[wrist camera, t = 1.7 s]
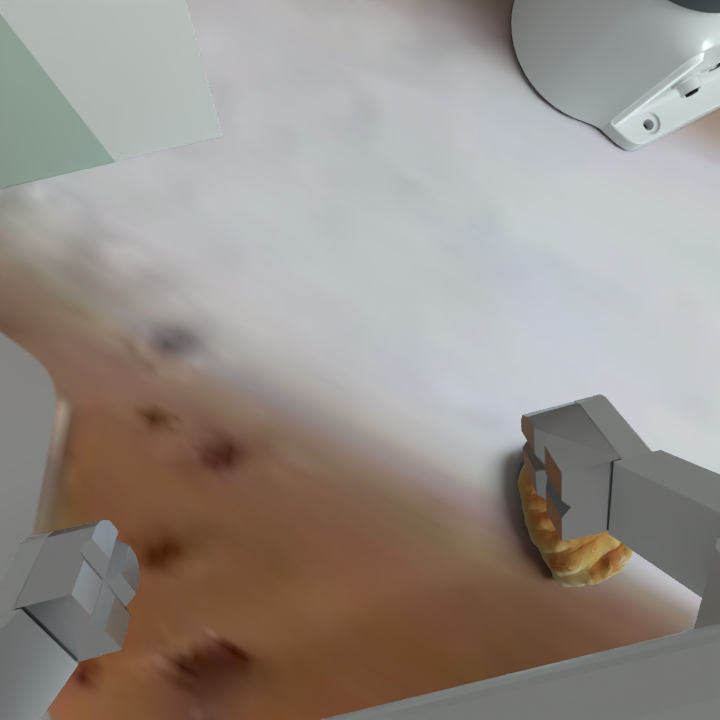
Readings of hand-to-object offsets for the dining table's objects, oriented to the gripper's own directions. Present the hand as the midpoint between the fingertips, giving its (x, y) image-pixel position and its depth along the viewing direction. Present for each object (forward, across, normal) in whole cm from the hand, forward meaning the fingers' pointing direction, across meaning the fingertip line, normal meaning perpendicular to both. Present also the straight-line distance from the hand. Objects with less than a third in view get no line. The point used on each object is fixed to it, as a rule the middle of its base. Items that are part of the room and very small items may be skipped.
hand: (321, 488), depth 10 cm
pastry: (+18, -12, +27) cm, 35 cm away
